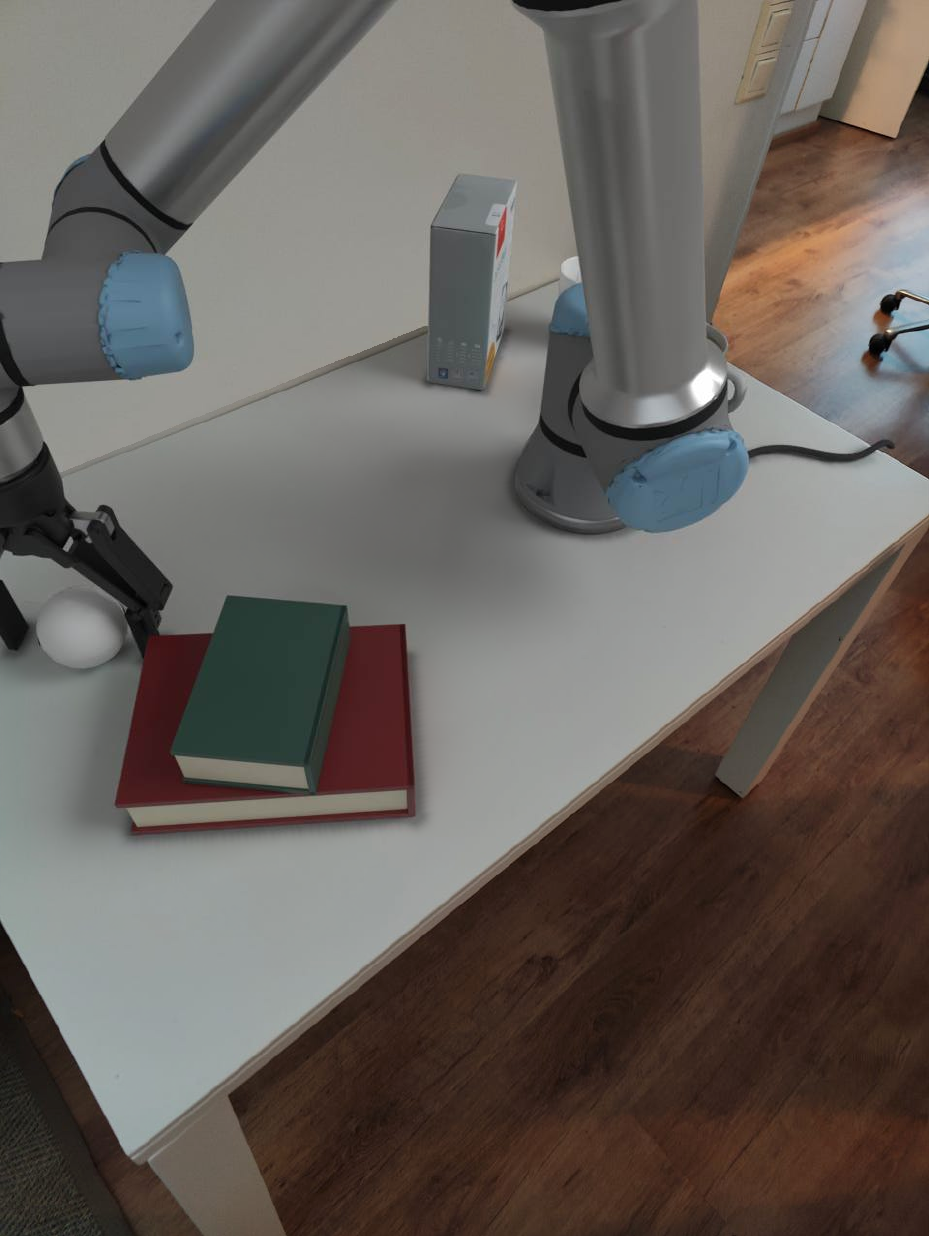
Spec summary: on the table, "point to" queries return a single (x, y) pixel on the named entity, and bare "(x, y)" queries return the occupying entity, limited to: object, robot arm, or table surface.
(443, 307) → the hard drive box
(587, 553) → the table surface
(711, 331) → the coffee mug
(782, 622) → the table surface
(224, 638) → the small book
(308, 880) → the table surface
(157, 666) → the big book
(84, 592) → the white smooth round ovoid
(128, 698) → the table surface
